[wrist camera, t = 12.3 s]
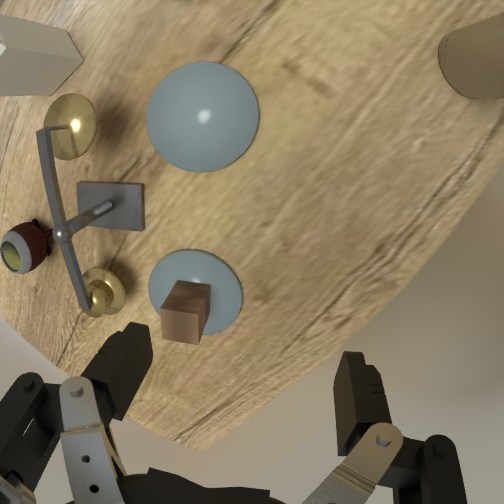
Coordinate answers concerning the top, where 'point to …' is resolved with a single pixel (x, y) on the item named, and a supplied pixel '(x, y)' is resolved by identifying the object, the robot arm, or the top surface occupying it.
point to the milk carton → (34, 57)
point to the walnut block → (185, 312)
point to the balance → (86, 200)
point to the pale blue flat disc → (202, 117)
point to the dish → (201, 271)
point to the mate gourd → (24, 247)
